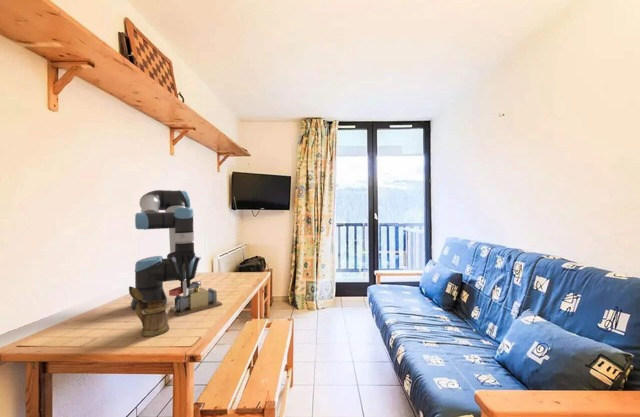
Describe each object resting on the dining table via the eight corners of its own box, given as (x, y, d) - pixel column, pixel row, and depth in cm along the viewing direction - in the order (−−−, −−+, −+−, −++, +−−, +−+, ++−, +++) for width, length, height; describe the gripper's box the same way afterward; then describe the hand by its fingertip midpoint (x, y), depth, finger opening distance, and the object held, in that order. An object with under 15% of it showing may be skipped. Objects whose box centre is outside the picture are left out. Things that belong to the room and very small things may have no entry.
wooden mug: (134, 329, 109) (134, 283, 109) (172, 325, 111) (171, 281, 112) (123, 339, 100) (123, 289, 100) (164, 335, 103) (164, 286, 103)
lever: (195, 285, 135) (195, 280, 135) (202, 285, 134) (202, 281, 134) (168, 295, 119) (168, 290, 119) (175, 296, 118) (175, 290, 118)
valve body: (169, 309, 130) (169, 288, 130) (211, 299, 144) (211, 280, 144) (178, 316, 121) (177, 293, 121) (222, 305, 135) (221, 284, 135)
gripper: (165, 243, 118) (166, 299, 118) (197, 242, 120) (198, 297, 119) (172, 241, 125) (173, 293, 125) (202, 240, 127) (203, 292, 127)
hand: (185, 295), depth 122 cm, fingers closed
